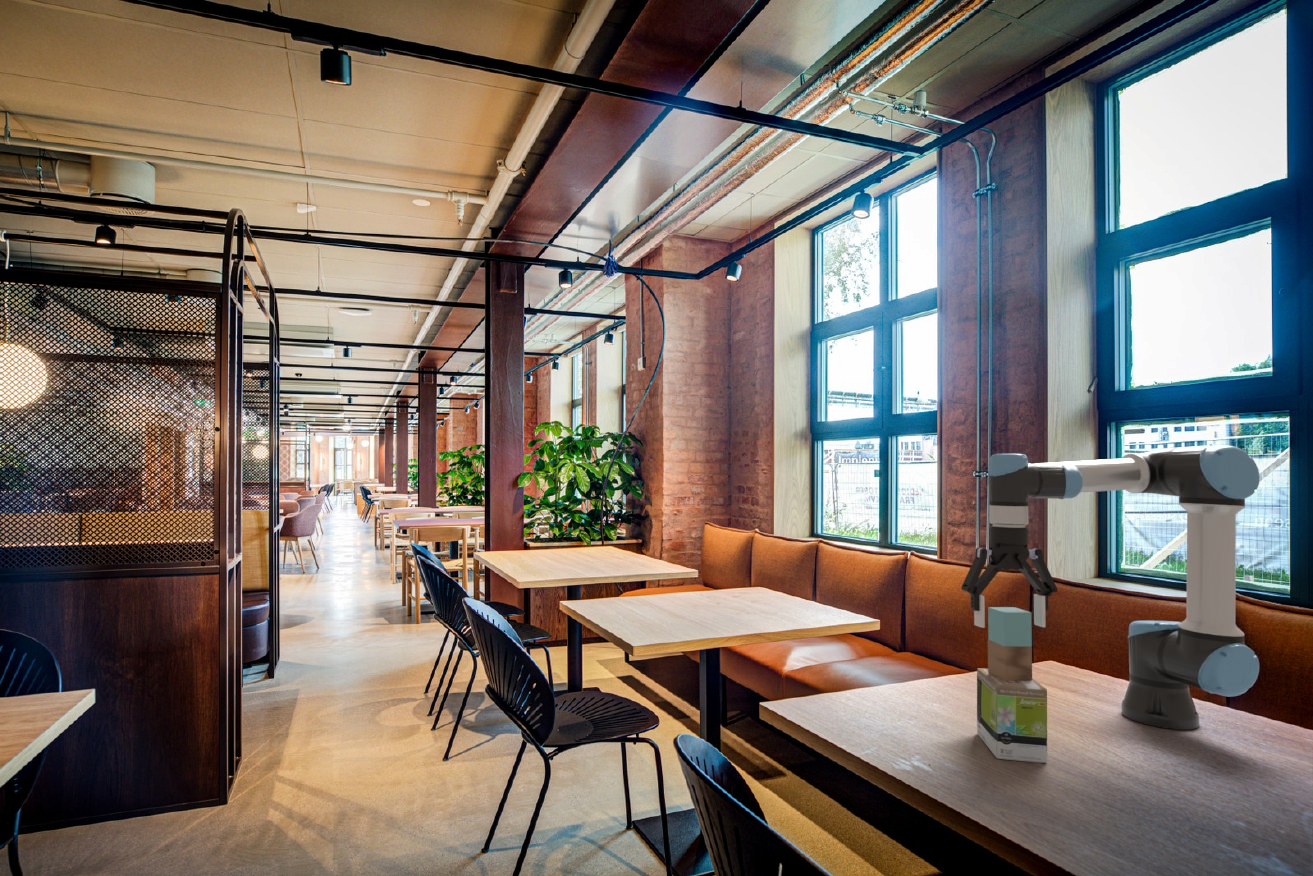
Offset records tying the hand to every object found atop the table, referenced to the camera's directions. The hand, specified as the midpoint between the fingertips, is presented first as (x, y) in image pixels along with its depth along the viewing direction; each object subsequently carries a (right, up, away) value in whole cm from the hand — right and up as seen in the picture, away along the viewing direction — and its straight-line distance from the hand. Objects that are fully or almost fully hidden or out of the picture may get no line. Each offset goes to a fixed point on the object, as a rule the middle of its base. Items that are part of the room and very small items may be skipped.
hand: (1009, 626), depth 151 cm
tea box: (-1, -26, -2) cm, 26 cm away
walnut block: (0, -11, -1) cm, 11 cm away
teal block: (0, -4, 0) cm, 4 cm away
